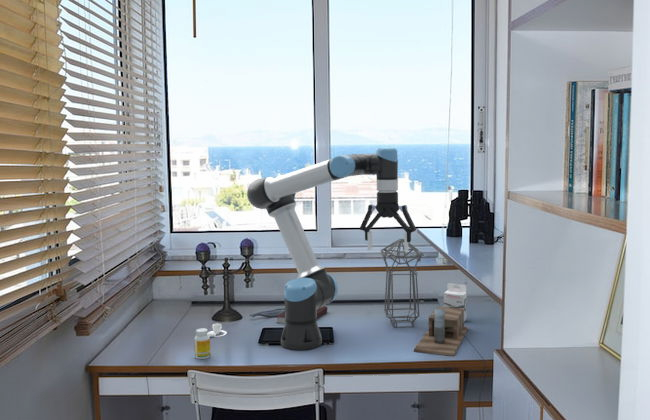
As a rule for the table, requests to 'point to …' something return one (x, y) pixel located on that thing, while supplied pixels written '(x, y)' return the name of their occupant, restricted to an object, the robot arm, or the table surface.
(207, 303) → the table surface
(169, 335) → the table surface
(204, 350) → the supplement bottle
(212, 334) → the teacup and saucer
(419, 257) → the geometric lantern
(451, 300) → the ink box
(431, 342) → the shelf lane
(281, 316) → the book
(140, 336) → the table surface
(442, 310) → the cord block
